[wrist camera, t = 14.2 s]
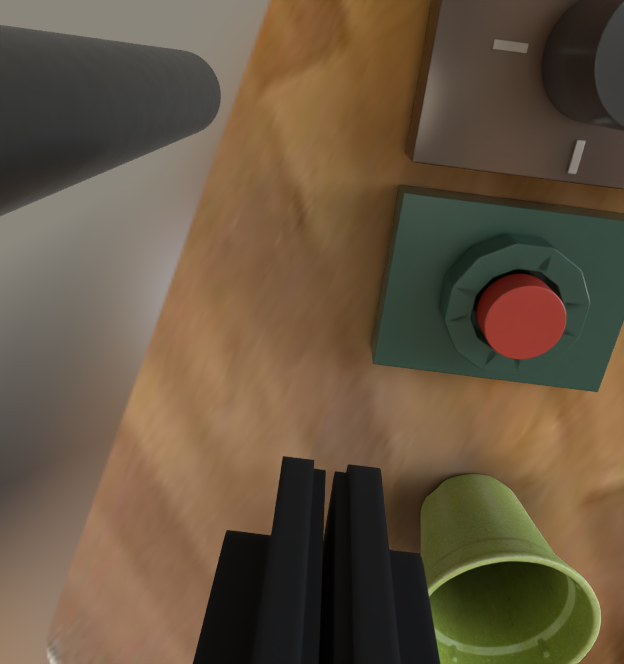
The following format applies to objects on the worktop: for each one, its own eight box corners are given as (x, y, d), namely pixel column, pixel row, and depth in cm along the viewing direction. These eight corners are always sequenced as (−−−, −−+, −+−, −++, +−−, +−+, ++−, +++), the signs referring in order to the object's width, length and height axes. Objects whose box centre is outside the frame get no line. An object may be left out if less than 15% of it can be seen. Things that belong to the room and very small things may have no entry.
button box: (370, 346, 33) (374, 380, 29) (399, 184, 29) (407, 200, 26) (582, 373, 33) (612, 410, 30) (636, 215, 30) (678, 235, 26)
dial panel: (404, 153, 29) (411, 162, 26) (447, -92, 25) (462, -114, 22) (687, 190, 29) (726, 203, 26) (776, -48, 25) (833, -64, 22)
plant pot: (545, 440, 35) (606, 548, 27) (545, 560, 39) (598, 686, 31) (388, 457, 36) (401, 566, 28) (402, 572, 40) (418, 697, 32)
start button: (468, 338, 29) (476, 354, 27) (486, 268, 27) (495, 280, 26) (541, 348, 29) (553, 364, 27) (563, 278, 27) (577, 291, 26)
